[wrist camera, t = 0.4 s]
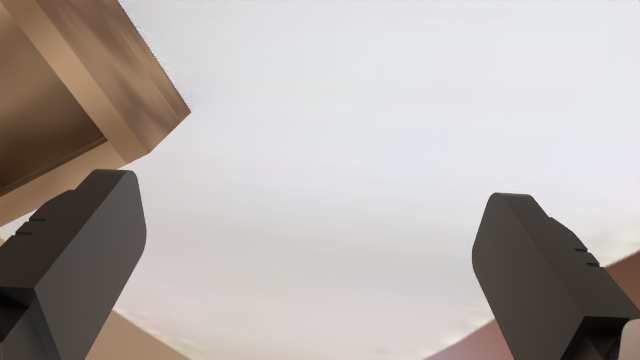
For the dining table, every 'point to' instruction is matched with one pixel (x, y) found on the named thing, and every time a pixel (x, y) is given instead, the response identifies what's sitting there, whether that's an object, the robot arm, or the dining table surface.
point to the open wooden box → (74, 98)
